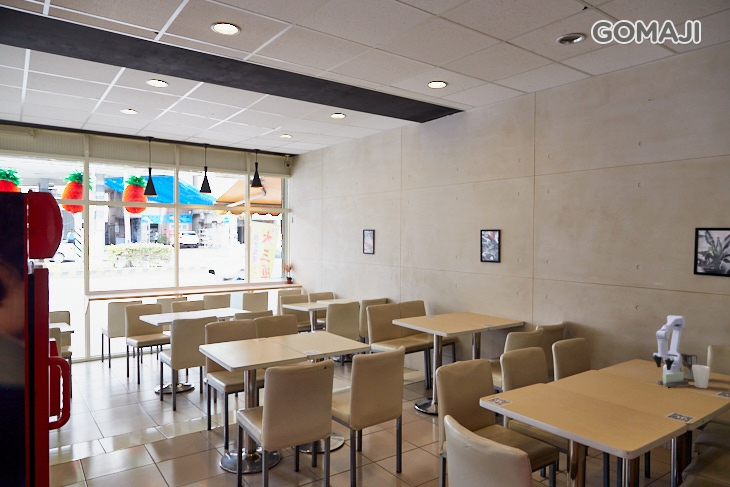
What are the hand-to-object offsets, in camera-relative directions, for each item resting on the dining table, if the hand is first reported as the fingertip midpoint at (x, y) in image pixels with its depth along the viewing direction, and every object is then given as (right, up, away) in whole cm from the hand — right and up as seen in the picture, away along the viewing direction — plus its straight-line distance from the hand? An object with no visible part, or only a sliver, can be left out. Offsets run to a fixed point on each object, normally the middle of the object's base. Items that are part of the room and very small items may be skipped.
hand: (663, 368), depth 313 cm
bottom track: (+3, -9, -6) cm, 11 cm away
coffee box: (+24, -9, +10) cm, 27 cm away
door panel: (+3, -8, -6) cm, 11 cm away
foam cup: (+17, -9, -11) cm, 22 cm away
